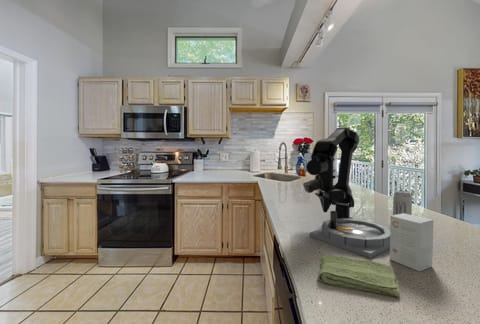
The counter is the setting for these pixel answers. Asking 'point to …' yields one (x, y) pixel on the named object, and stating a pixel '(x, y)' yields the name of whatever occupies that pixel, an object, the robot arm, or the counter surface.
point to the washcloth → (358, 275)
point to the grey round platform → (355, 238)
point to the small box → (411, 241)
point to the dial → (352, 228)
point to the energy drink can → (402, 203)
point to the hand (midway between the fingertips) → (325, 212)
